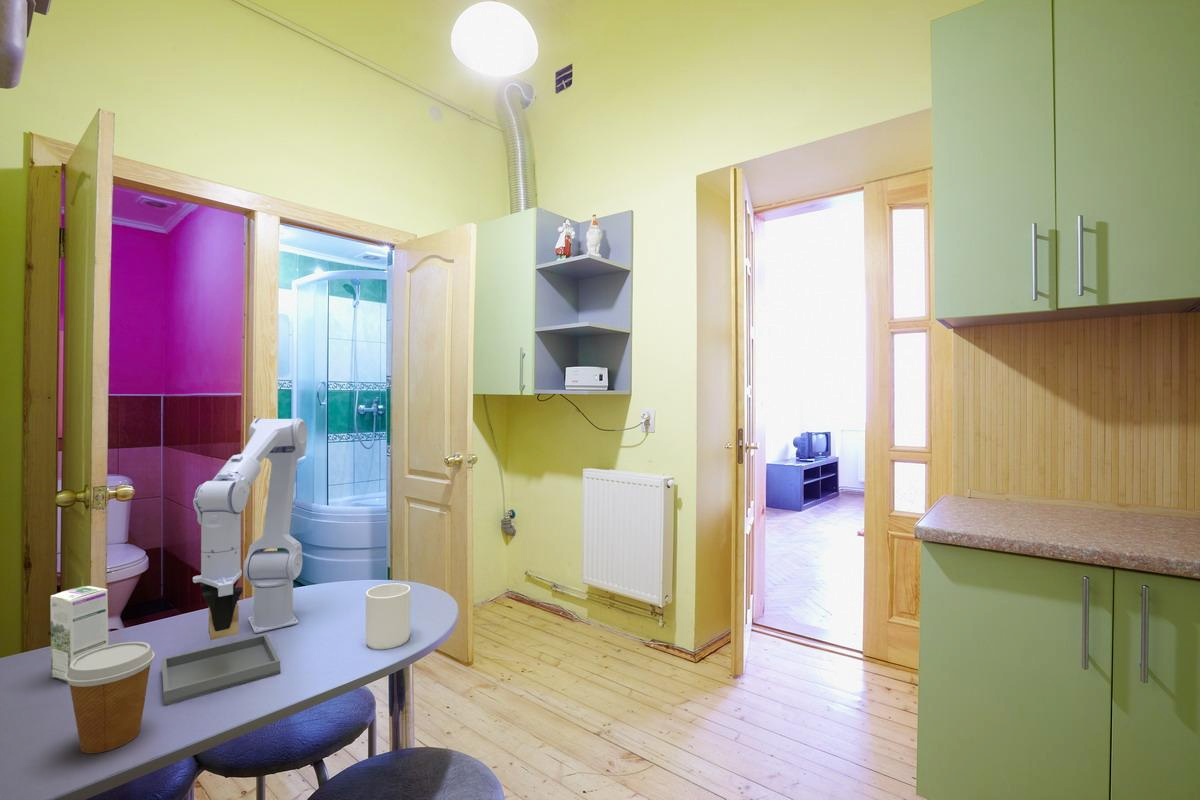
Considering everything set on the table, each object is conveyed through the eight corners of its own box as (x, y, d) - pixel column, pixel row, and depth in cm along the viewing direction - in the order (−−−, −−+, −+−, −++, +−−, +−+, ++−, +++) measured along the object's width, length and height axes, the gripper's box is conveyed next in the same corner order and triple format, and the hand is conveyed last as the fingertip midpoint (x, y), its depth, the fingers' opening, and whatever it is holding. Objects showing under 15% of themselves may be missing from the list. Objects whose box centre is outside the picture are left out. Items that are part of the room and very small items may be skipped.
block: (208, 632, 97) (208, 604, 97) (235, 626, 99) (235, 599, 99) (210, 640, 94) (210, 611, 94) (238, 634, 96) (238, 605, 96)
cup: (375, 654, 103) (376, 601, 103) (351, 634, 112) (352, 585, 112) (417, 640, 109) (417, 590, 109) (391, 623, 118) (391, 576, 118)
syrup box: (110, 668, 97) (110, 587, 97) (69, 684, 92) (69, 598, 92) (90, 663, 99) (90, 583, 99) (48, 678, 94) (48, 594, 94)
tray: (161, 671, 96) (161, 658, 96) (266, 645, 107) (266, 634, 107) (164, 705, 86) (164, 691, 86) (280, 673, 96) (280, 660, 96)
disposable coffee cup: (102, 721, 82) (103, 641, 82) (170, 718, 82) (170, 639, 82) (43, 763, 72) (43, 673, 72) (120, 760, 73) (120, 670, 73)
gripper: (190, 543, 99) (189, 617, 99) (196, 562, 88) (195, 646, 88) (236, 537, 104) (236, 608, 104) (247, 554, 93) (247, 634, 93)
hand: (220, 625), depth 96 cm, fingers closed on block, 4 cm apart
